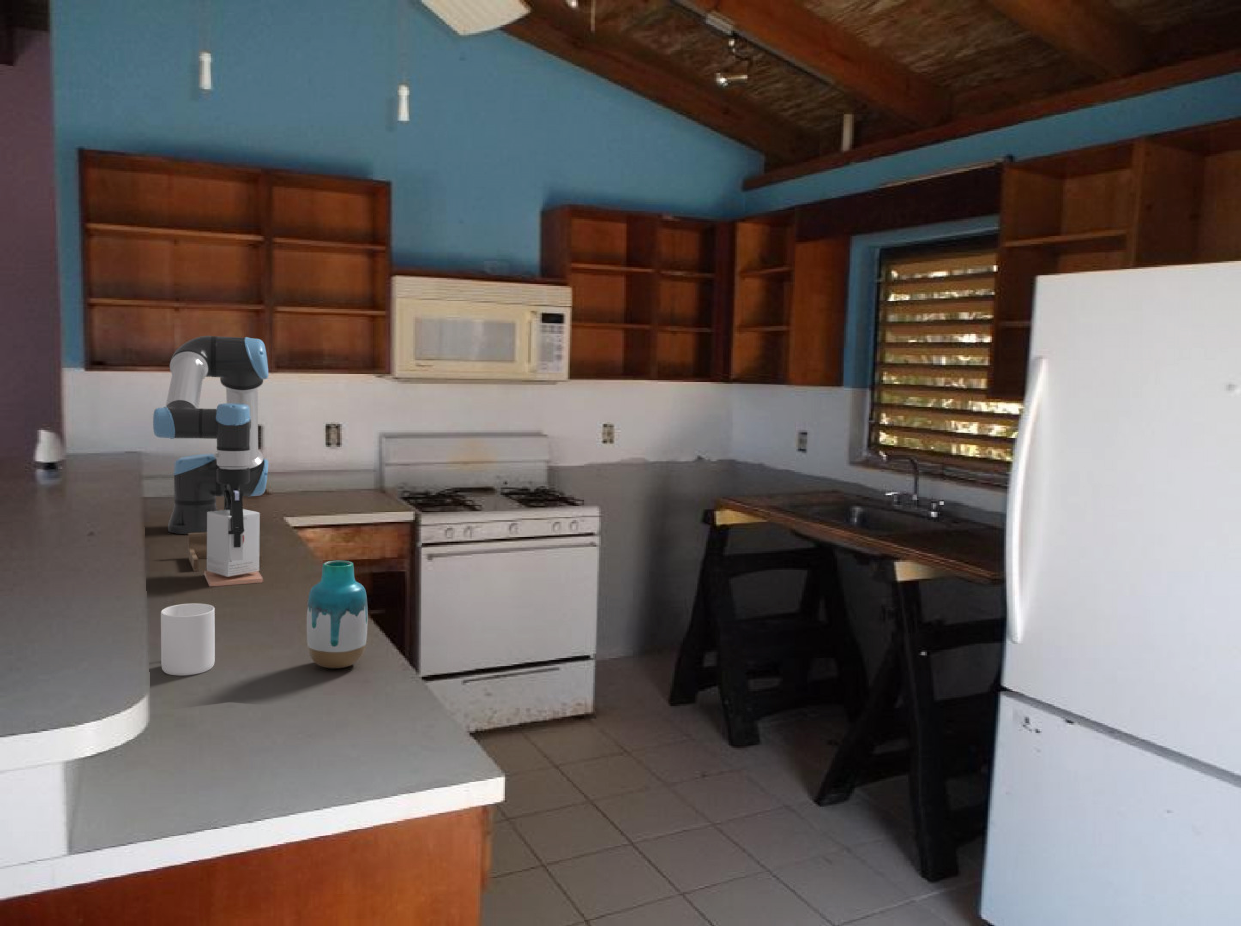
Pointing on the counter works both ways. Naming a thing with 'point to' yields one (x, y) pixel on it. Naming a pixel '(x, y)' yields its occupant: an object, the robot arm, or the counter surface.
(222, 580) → the terracotta tile
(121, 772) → the counter surface
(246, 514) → the supplement box
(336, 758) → the counter surface
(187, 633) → the mug
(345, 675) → the counter surface
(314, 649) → the vase
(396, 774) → the counter surface
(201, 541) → the wooden u-shaped frame
